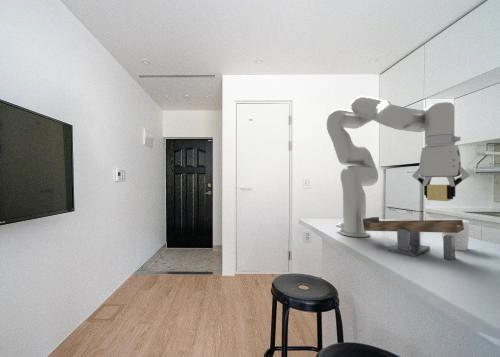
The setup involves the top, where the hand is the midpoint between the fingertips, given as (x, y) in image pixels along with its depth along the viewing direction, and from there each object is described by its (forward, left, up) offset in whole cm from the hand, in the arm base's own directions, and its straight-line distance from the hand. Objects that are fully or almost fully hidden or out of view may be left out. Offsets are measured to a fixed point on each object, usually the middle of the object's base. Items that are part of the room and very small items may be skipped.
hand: (439, 197), depth 76 cm
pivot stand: (-9, 0, -19) cm, 21 cm away
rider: (0, 0, -1) cm, 1 cm away
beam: (-9, 0, -12) cm, 15 cm away
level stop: (+2, 0, -19) cm, 19 cm away
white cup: (0, +17, -19) cm, 26 cm away
